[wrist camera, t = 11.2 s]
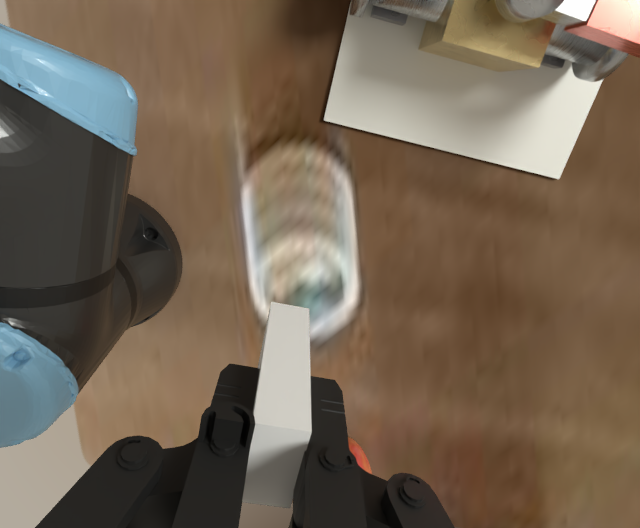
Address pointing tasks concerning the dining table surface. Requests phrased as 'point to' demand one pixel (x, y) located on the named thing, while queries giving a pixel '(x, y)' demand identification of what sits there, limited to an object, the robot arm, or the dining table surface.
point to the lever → (584, 19)
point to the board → (455, 99)
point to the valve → (496, 37)
